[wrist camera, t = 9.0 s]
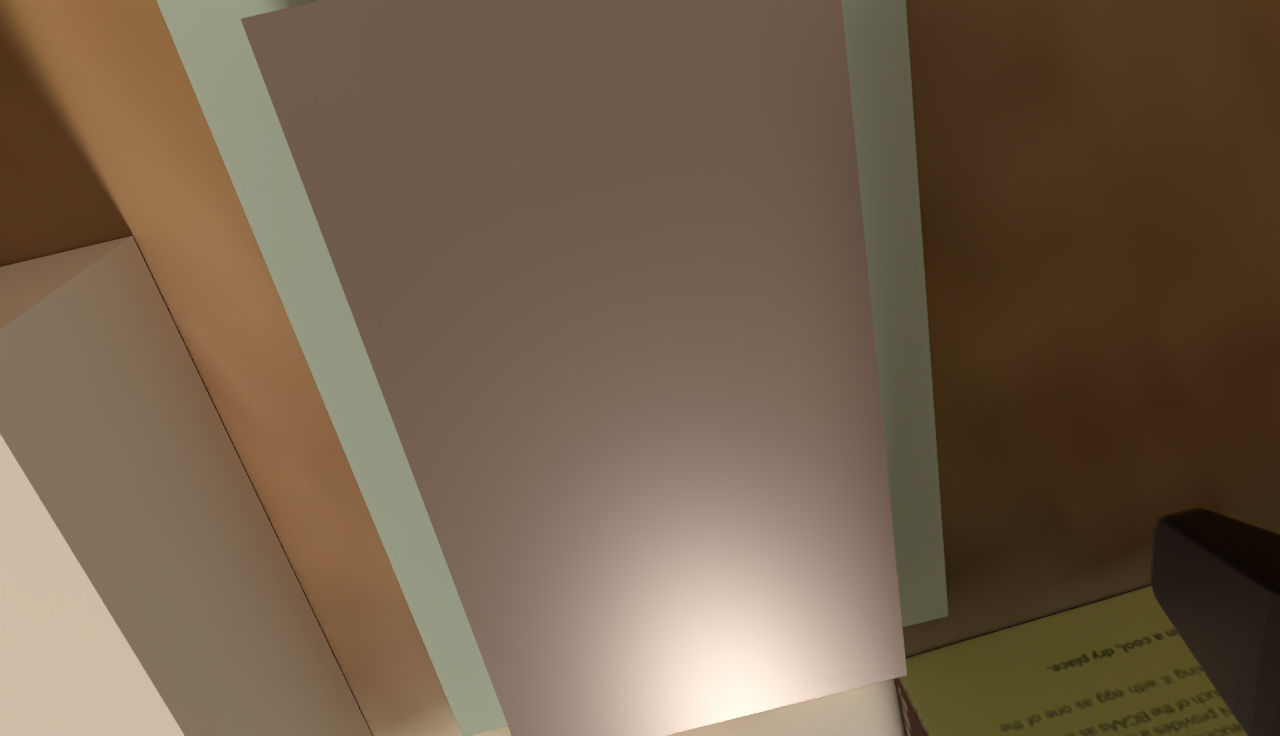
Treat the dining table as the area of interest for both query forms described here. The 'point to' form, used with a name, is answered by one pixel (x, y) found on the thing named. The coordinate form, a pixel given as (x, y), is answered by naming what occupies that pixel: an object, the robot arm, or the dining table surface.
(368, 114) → the lid
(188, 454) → the box
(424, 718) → the dining table surface
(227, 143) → the mat
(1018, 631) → the protein box
